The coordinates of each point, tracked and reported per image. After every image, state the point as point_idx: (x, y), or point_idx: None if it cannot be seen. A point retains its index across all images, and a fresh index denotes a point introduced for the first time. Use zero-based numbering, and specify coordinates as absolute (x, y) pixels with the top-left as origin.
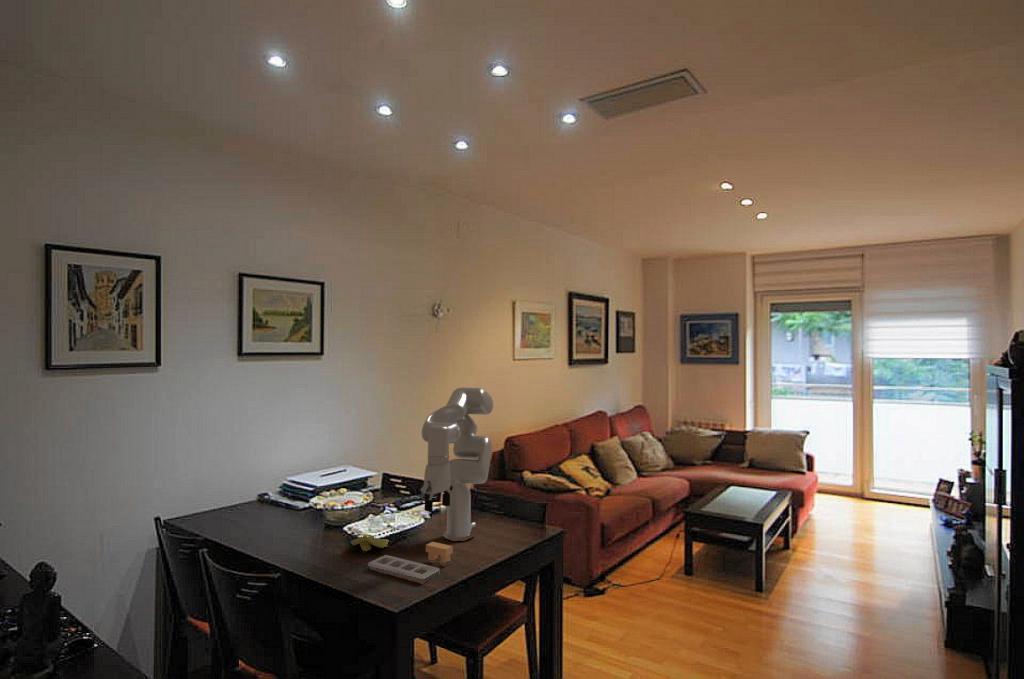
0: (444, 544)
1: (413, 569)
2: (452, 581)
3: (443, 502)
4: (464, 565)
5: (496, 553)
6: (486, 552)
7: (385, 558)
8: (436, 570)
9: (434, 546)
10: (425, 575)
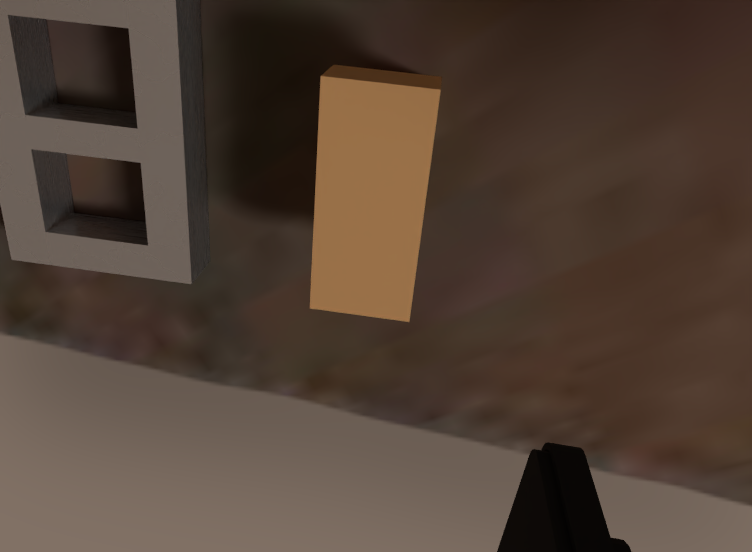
0: (415, 239)
1: (58, 132)
2: (184, 363)
3: (532, 513)
4: (434, 327)
5: (725, 424)
6: (730, 363)
7: None
8: (161, 276)
9: (325, 181)
10: (40, 263)
